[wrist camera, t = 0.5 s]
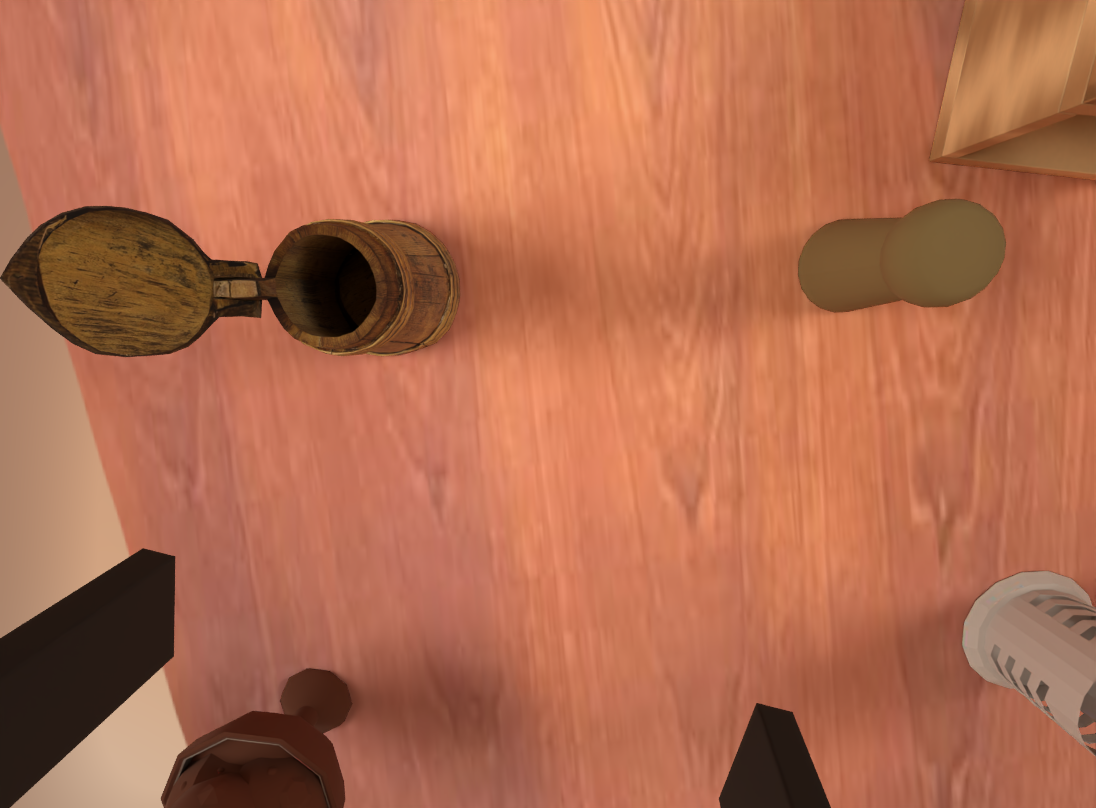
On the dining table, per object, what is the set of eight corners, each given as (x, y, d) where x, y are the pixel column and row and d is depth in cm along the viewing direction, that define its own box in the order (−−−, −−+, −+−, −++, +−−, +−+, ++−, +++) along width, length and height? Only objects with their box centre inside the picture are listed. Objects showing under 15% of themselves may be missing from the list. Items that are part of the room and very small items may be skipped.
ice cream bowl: (230, 729, 44) (63, 948, 29) (277, 614, 42) (124, 787, 27) (353, 779, 44) (252, 1018, 30) (405, 668, 42) (325, 865, 28)
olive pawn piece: (899, 224, 36) (1048, 191, 25) (878, 317, 37) (1011, 324, 26) (808, 213, 36) (917, 175, 25) (789, 306, 37) (886, 309, 26)
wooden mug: (255, 219, 36) (-31, 142, 19) (458, 221, 36) (364, 144, 18) (267, 353, 38) (14, 399, 20) (461, 355, 38) (377, 404, 20)
